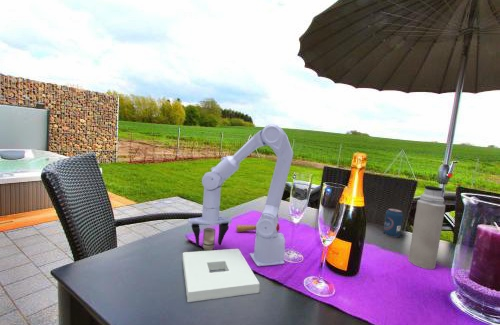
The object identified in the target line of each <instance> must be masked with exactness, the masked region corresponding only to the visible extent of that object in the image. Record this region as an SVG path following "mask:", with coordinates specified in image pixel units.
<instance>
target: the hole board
mask: <svg viewBox="0 0 500 325" xmlns="http://www.w3.org/2000/svg"><path fill="white" fill-rule="evenodd" d="M182 267H183V268H182V269H183V275H184V283H185V291H186V292H185V293H186V300H187V303H192V302H199V301H200V302H201V301H206V300H207V301H208V300H214V299H215V300H216V299H222V298H223V299H224V298H230V297H235V296H237V297H238V296H243V295H252V294H258V293H259V294H260V285H261V284H260V281H259V280H258V279H257V277H256V275H255V274H254V271H253V270H252V269H251V267H250V265H249V263H248V262H247V260H246V259H245V257H244V256H243V254H242V252H241V250H240V249H239V248H229V249H227V248H226V249H217V250H215V249H214V250H212V251H204V250H201V251H200V250H198V251H186V252H182ZM219 270H224V271H219ZM210 271H215V272H210Z"/></svg>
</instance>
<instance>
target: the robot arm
mask: <svg viewBox="0 0 500 325" xmlns="http://www.w3.org/2000/svg"><path fill="white" fill-rule="evenodd" d="M266 146H268V147H270V149H272V151H273V152H274V154H275V156H276V157H277V159H276V161H275V165H274V166H275V167H274V171H273V174H272V177H271V182H270V185H269V189H268V192H267V197H266V200H265V205H264V208H263V210H262V213H261V215H260V218H259V219H258V220H257V221H258V222H256V224H255V225H256V231H255V240H254V248H253V249H254V252H250V253H249V256H250V258H251V259H252V261H253V262H254V263H255V266H256V267H265V266H274V265H275V266H276V265H284V264H285V260H284V259H285V252H286V251H285V250H286V239H285V235H284V234H283V233H282V232H279V231H278V232H277V230H276V227H277V224H279V222H280V220H279V210H280V207H281V206H280V205H281V203H282V198H283V194H284V190H285V188H286V185H287V184H286V183H287V180H288V176H289V173H290V168H291V165H292V162H293V158H294V151H293V149H292V145H291V143H290V140H289V138H288V135H287V133H286V132H285V130H284V129H283V128H282V127H280V126H279V125H278V124H275V123H274V124H273V123H271V124H270V123H269V124H266V125H265V127H263V129H261V130H259V131H258V132H257V133H255V134H254V135H253V136H251V137H250V139H249V140H247V141H246V142H245V143H244V144H243V145H242V146H241V147H240V148H239V149H238V150H237V151H236V152H235V153H234V154H233V155H226V156H222V157H221V158H220V162H219V163H218V164H216V166H213V167H211V168H210V170H211V171H207V172H205V173H204V175H203V176H202V178H201V184H202V186H203V196H202V197H203V198H202V199H203V200H202V210H201V212H202V213H201V216H200V217H192V218H187V219H188V222H187V225H188V227H191V230H192V232H193V234H194V238H195V247H196V248H198V247H200V233H201V229H200V226H207V225H208V226H209V225H210V226H212V225H218V239H217V243H218V246H222V243H223V240H224V237H225V235H226V233H227V232H228V230H229V227H230V226H231V225H232V218H231V217H225V216H220V210H221V209H220V206H221V196H222V193H221V190H222V186H223V184H224V182H225V181H227V180H228V179H229V178H231V176H232V175H234V174H235V173H236V172H237V171H238V170H239V169H240V163H241V162H242V161H244V159H246V158H248V156H250V155H251V154H252V153H253V152H255V151H256V150H257V149H258V148H261V147H266ZM229 225H230V226H229Z"/></svg>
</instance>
